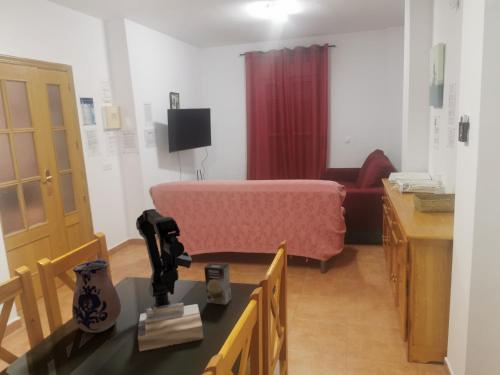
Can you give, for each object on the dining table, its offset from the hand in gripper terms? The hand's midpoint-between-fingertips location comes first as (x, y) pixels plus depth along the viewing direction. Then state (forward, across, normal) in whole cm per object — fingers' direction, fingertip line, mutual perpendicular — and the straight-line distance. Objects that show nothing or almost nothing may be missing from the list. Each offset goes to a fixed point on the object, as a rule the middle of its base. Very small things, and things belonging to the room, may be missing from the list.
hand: (172, 289), depth 148 cm
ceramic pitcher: (+13, +7, +29) cm, 33 cm away
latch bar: (+8, -4, +3) cm, 9 cm away
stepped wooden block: (+13, -12, +2) cm, 18 cm away
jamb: (+13, -3, +2) cm, 14 cm away
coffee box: (+13, +12, -18) cm, 26 cm away
